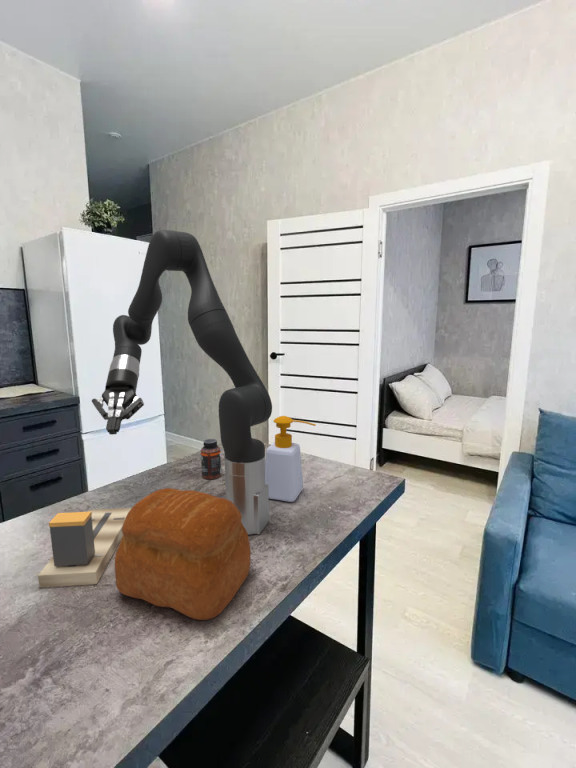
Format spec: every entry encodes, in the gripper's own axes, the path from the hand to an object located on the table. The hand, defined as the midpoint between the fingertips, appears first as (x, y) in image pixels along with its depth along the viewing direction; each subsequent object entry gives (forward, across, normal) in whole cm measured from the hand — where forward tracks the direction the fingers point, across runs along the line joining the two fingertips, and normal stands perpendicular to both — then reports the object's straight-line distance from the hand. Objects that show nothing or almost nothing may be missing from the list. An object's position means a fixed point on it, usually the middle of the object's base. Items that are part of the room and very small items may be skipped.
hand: (112, 432), depth 96 cm
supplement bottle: (+1, +22, +28) cm, 35 cm away
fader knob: (+30, 0, -5) cm, 30 cm away
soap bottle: (+12, +44, +17) cm, 49 cm away
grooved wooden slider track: (+26, 0, +3) cm, 26 cm away
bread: (+36, +21, -6) cm, 42 cm away
